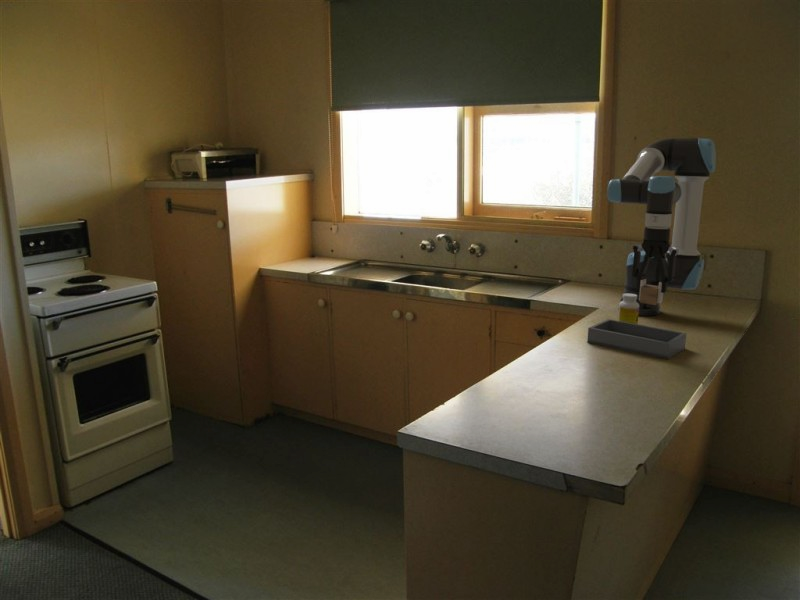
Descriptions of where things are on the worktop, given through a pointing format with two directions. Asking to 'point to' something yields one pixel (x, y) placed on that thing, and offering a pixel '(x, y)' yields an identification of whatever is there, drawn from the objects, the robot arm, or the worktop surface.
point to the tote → (637, 338)
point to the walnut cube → (649, 294)
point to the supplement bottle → (628, 309)
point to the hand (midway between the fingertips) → (650, 301)
